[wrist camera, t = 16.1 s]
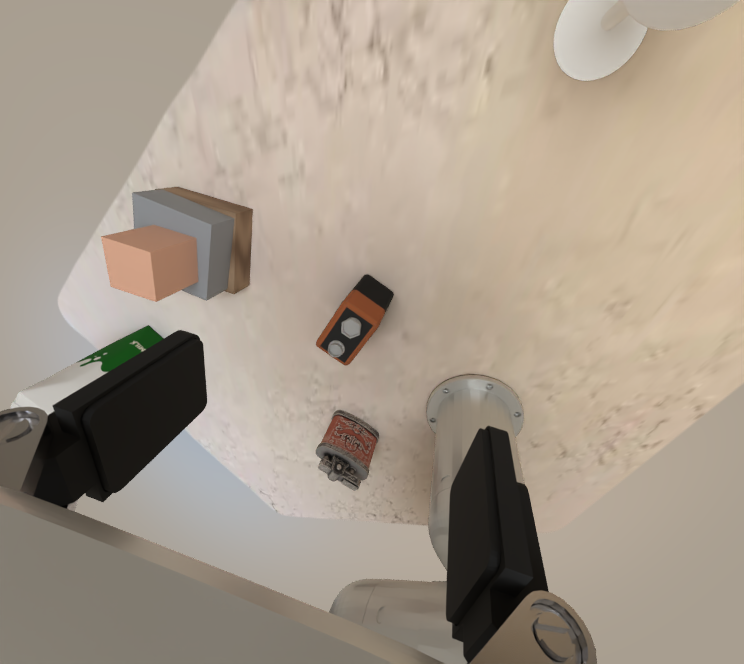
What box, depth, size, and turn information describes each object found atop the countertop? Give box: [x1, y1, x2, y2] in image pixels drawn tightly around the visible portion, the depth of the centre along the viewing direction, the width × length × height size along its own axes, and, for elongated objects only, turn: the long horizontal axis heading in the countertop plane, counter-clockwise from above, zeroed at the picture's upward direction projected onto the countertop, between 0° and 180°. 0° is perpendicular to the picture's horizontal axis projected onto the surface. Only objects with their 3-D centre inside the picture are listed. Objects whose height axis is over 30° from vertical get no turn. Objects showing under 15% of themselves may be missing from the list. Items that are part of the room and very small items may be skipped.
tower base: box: [155, 187, 253, 294], centre depth 41 cm, size 10×10×4 cm
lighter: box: [316, 410, 379, 491], centre depth 48 cm, size 8×3×10 cm, turn 60°
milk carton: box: [11, 326, 163, 415], centre depth 46 cm, size 9×9×20 cm
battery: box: [316, 275, 393, 365], centre depth 38 cm, size 4×7×10 cm, turn 147°
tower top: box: [132, 189, 235, 301], centre depth 38 cm, size 9×9×4 cm
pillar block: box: [101, 225, 198, 302], centre depth 34 cm, size 5×5×6 cm
